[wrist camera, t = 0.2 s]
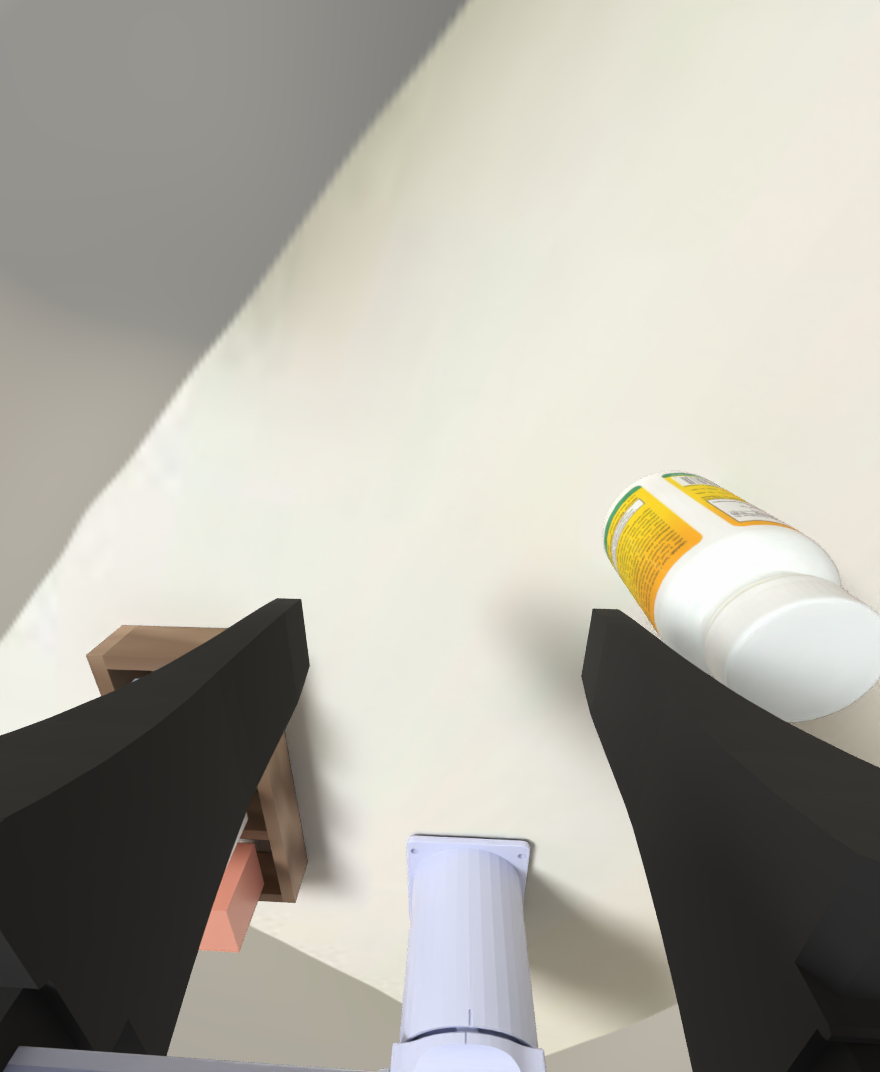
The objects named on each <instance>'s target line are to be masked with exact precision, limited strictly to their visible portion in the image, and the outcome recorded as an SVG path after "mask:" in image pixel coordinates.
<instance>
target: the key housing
mask: <svg viewBox="0 0 880 1072" xmlns="http://www.w3.org/2000/svg"><path fill="white" fill-rule="evenodd" d="M226 629H227V628H194V627H160V626H126V625H122V626H121V627H120V628H118V629H117V630H116V631H115V632H114V633H112V634H111V635H110V636H109V637H108V638H106V639H105V640H104V641H103V642H101V643H100V644H99V645H98V646H97V647H95V648H94V649H93V650H92V651H91V652H89V653H88V654H87V655H86V657H87V660H88V662H89V665H90V667H91V670H92V673H93V675H94V678H95V681H96V683H97V686H98V688H99V691H100V694H101V696H103V695H106V694H108V693H110V692H112V691H115V690H117V689H119V688H121V687H123V686H125V685H127V684H129V683H131V682H132V681H133V680H134V679H140V678H142V677H144V676H146V675H148V674H150V673H152V672H151V671H155V670H157V669H159V668H161V667H163V666H165V665H167V664H169V663H170V662H172V661H174V660H176V659H177V658H179V657H181V656H182V655H184V654H186V653H188V652H189V651H191V650H193V649H195V648H196V647H198V646H200V645H202V644H203V643H205V642H207V641H208V640H210V639H212V638H213V637H215V636H216V635H218V634H220V633H221V632H223V631H224V630H226ZM257 789H258V791H255V793H254V795H253V797H252V800H251V802H250V804H249V807H248V809H247V816H248V821H247V823H246V825H245V827H244V830H243V832H242V834H241V836H240V838H239V839H257V840H269V842H270V846H271V850H272V853H268V852H257V856H258V860H259V864H260V869H261V873H262V877H263V881H264V886H263V889H262V891H261V894H260V897H259V900H258V901H270V902H288V903H296V899H297V896H298V893H299V889H300V886H301V882H302V879H303V876H304V872H305V869H306V866H307V862H308V861H307V855H306V850H305V844H304V838H303V833H302V827H301V822H300V816H299V811H298V805H297V799H296V794H295V788H294V783H293V777H292V772H291V766H290V760H289V755H288V749H287V744H286V738H285V733H284V732H283V735H282V737H281V739H280V741H279V743H278V745H277V747H276V749H275V751H274V753H273V755H272V757H271V759H270V761H269V763H268V765H267V767H266V770H265V772H264V774H263V776H262V778H261V780H260V782H259V784H258V786H257Z"/></svg>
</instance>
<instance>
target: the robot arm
mask: <svg viewBox="0 0 880 1072" xmlns="http://www.w3.org/2000/svg"><path fill="white" fill-rule="evenodd" d="M309 666H310V664H309V656H308V649H307V641H306V633H305V625H304V618H303V610H302V602H301V599H281V598H277V599H275V600H273V601H271V602H269V603H268V604H266V605H264V606H263V607H261V608H259V609H258V610H256V611H255V612H253V613H251V614H250V615H248V616H247V617H245V618H243V619H242V620H240V621H239V622H237V623H236V624H234V625H232V626H231V627H229V628H228V629H226V630H224V631H223V632H221V633H220V634H218V635H216V636H215V637H213V638H212V639H210V640H208V641H207V642H205V643H203V644H202V645H200V646H198V647H196V648H195V649H193V650H191V651H189V652H188V653H186V654H184V655H182V656H181V657H179V658H177V659H176V660H174V661H172V662H170V663H169V664H167V665H165V666H163V667H161V668H159V669H157V670H155V671H153V672H152V673H150V674H148V675H146V676H144V677H142V678H140V679H138V680H135V681H133V682H131V683H129V684H127V685H125V686H123V687H121V688H119V689H117V690H115V691H112V692H110V693H108V694H106V695H103V696H101V697H99V698H96V699H94V700H91V701H89V702H87V703H84V704H82V705H79V706H77V707H75V708H72V709H70V710H67V711H65V712H63V713H60V714H58V715H55V716H53V717H50V718H48V719H45V720H43V721H40V722H37V723H34V724H32V725H29V726H26V727H23V728H21V729H18V730H15V731H13V732H10V733H7V734H4V735H1V736H0V1072H546V1064H545V1055H544V1050H543V1049H540V1048H538V1041H537V1032H536V1023H535V1013H534V1004H533V995H532V986H531V977H530V968H529V959H528V950H527V941H526V932H525V923H524V913H523V902H524V894H525V886H526V879H527V871H528V864H529V856H530V846H529V844H528V843H527V842H526V841H520V840H499V839H477V838H456V837H435V836H410V837H409V838H408V840H407V862H408V888H409V914H410V928H409V939H408V950H407V962H406V973H405V984H404V995H403V1007H402V1018H401V1029H400V1042H399V1043H394V1044H393V1048H392V1058H391V1068H390V1069H384V1068H383V1069H380V1070H378V1071H367V1070H353V1069H338V1068H325V1067H311V1066H297V1065H283V1064H269V1063H255V1062H240V1061H226V1060H212V1059H197V1058H184V1057H169V1056H167V1052H168V1049H169V1045H170V1041H171V1038H172V1035H173V1032H174V1028H175V1025H176V1022H177V1018H178V1015H179V1012H180V1008H181V1005H182V1002H183V998H184V995H185V992H186V988H187V985H188V982H189V978H190V975H191V972H192V969H193V965H194V962H195V959H196V956H197V953H198V950H199V947H200V944H201V941H202V938H203V934H204V931H205V928H206V925H207V922H208V919H209V916H210V913H211V910H212V907H213V904H214V901H215V898H216V895H217V892H218V889H219V886H220V884H221V881H222V878H223V875H224V872H225V869H226V866H227V863H228V861H229V858H230V855H231V852H232V849H233V847H234V844H235V841H236V839H237V836H238V833H239V831H240V828H241V825H242V822H243V820H244V817H245V814H246V812H247V809H248V807H249V804H250V802H251V800H252V797H253V795H254V793H255V791H256V788H257V786H258V784H259V782H260V780H261V778H262V776H263V774H264V772H265V770H266V767H267V765H268V763H269V761H270V759H271V757H272V755H273V753H274V751H275V749H276V747H277V745H278V743H279V741H280V739H281V737H282V735H283V732H284V730H285V728H286V726H287V724H288V722H289V720H290V718H291V716H292V714H293V711H294V709H295V707H296V705H297V703H298V700H299V697H300V694H301V691H302V688H303V686H304V682H305V679H306V676H307V673H308V669H309ZM582 680H583V685H584V689H585V694H586V698H587V702H588V706H589V710H590V714H591V717H592V719H593V722H594V725H595V728H596V730H597V733H598V735H599V738H600V741H601V743H602V746H603V749H604V751H605V754H606V756H607V759H608V762H609V764H610V767H611V769H612V772H613V775H614V777H615V780H616V782H617V785H618V788H619V790H620V793H621V795H622V798H623V800H624V803H625V806H626V809H627V812H628V815H629V818H630V821H631V823H632V826H633V830H634V833H635V837H636V841H637V844H638V848H639V851H640V855H641V858H642V862H643V866H644V869H645V873H646V876H647V880H648V884H649V888H650V892H651V896H652V899H653V903H654V907H655V911H656V915H657V919H658V923H659V926H660V930H661V934H662V938H663V943H664V947H665V951H666V955H667V959H668V964H669V968H670V972H671V976H672V980H673V985H674V989H675V993H676V997H677V1002H678V1005H679V1010H680V1015H681V1020H682V1024H683V1029H684V1033H685V1038H686V1042H687V1047H688V1052H689V1057H690V1061H691V1066H692V1070H693V1072H880V768H879V767H876V766H874V765H872V764H870V763H868V762H866V761H863V760H861V759H859V758H857V757H855V756H853V755H850V754H848V753H846V752H844V751H842V750H840V749H838V748H836V747H834V746H832V745H830V744H828V743H826V742H824V741H822V740H820V739H818V738H816V737H814V736H812V735H810V734H808V733H806V732H804V731H802V730H800V729H799V728H797V727H795V726H793V725H791V724H789V723H787V722H785V721H784V720H782V719H780V718H778V717H777V716H775V715H773V714H771V713H770V712H768V711H766V710H764V709H763V708H761V707H759V706H757V705H756V704H754V703H752V702H751V701H749V700H747V699H745V698H744V697H742V696H741V695H739V694H737V693H736V692H734V691H733V690H731V689H729V688H728V687H726V686H725V685H723V684H722V683H720V682H719V681H717V680H716V679H714V678H713V677H711V676H710V675H708V674H707V673H705V672H704V671H702V670H701V669H699V668H698V667H697V666H695V665H694V664H692V663H691V662H689V661H688V660H687V659H685V658H684V657H682V656H681V655H680V654H678V653H677V652H676V651H674V650H673V649H672V648H670V647H669V646H668V645H666V644H665V643H664V642H662V641H661V640H660V639H658V638H657V637H656V636H654V635H653V634H652V633H650V632H649V631H648V630H646V629H645V628H644V627H642V626H641V625H640V624H638V623H637V622H636V621H634V620H633V619H632V618H630V617H629V616H627V615H626V614H625V613H623V612H621V611H620V610H618V609H593V611H592V617H591V623H590V629H589V635H588V641H587V646H586V652H585V658H584V664H583V670H582Z"/></svg>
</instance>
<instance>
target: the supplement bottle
mask: <svg viewBox="0 0 880 1072" xmlns="http://www.w3.org/2000/svg"><path fill="white" fill-rule="evenodd" d="M602 540H603V546H604V550H605V552H606V555H607V557H608V559H609V560H610V562H611V564H612V565H613V567H614V568H615V570H616V571H617V573H618V574H619V576H620V578H621V579H622V581H623V582H624V583H625V585H626V586H627V588H628V589H629V591H630V592H631V594H632V595H633V597H634V598H635V600H636V601H637V603H638V604H639V606H640V607H641V609H642V610H643V612H644V613H645V615H646V616H647V618H648V619H649V621H650V622H651V624H652V625H653V627H654V628H655V630H656V631H657V633H658V634H659V636H660V637H661V639H662V640H663V642H664V643H665V644H666V645H668V646H669V647H670V648H672V649H673V650H674V651H676V652H677V653H678V654H680V655H681V656H682V657H684V658H685V659H687V660H688V661H689V662H691V663H692V664H694V665H695V666H697V667H698V668H699V669H701V670H702V671H704V672H705V673H708V674H712V675H713V677H714V678H715V679H716V680H717V681H719V682H720V683H722V684H723V685H725V686H726V687H728V688H729V689H731V690H733V691H734V692H736V693H737V694H739V695H741V696H742V697H744V698H745V699H747V700H749V701H751V702H752V703H754V704H756V705H757V706H759V707H761V708H763V709H764V710H766V711H768V712H770V713H771V714H773V715H775V716H777V717H778V718H780V719H782V720H784V721H785V722H802V721H809V720H813V719H817V718H821V717H824V716H827V715H830V714H832V713H834V712H836V711H839V710H841V709H843V708H845V707H847V706H848V705H850V704H852V703H853V702H855V701H856V700H858V699H859V698H860V697H861V696H862V695H864V694H865V693H866V692H867V691H868V690H869V689H871V688H872V687H873V685H874V684H875V683H876V682H877V681H878V680H879V678H880V615H879V614H878V613H877V612H876V611H874V610H873V609H872V608H870V607H869V606H868V605H866V604H865V603H863V602H862V601H860V600H859V599H857V598H856V597H854V596H853V595H851V594H850V593H849V592H848V591H847V590H845V589H844V588H842V584H841V579H840V575H839V572H838V569H837V567H836V565H835V563H834V561H833V560H832V559H831V557H830V556H829V555H828V553H827V552H826V551H825V550H824V549H823V548H822V547H821V546H820V545H819V544H818V543H816V542H815V541H814V540H812V539H811V538H809V537H808V536H806V535H804V534H803V533H801V532H799V531H798V530H796V529H794V528H793V527H791V526H789V525H787V524H786V523H784V522H782V521H780V520H778V519H777V518H775V517H773V516H772V515H770V514H768V513H766V512H764V511H763V510H761V509H759V508H757V507H755V506H753V505H752V504H750V503H748V502H746V501H744V500H743V499H741V498H739V497H738V496H736V495H734V494H733V493H731V492H729V491H727V490H725V489H724V488H722V487H720V486H718V485H717V484H715V483H713V482H711V481H709V480H707V479H705V478H703V477H701V476H699V475H696V474H693V473H689V472H684V471H664V472H659V473H655V474H651V475H649V476H646V477H643V478H641V479H639V480H638V481H636V482H634V483H633V484H632V485H630V486H629V487H627V488H626V489H625V490H624V491H623V492H622V493H621V494H620V495H619V496H618V498H617V499H616V500H615V501H614V503H613V505H612V506H611V508H610V509H609V511H608V513H607V515H606V518H605V521H604V525H603V531H602Z"/></svg>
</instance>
